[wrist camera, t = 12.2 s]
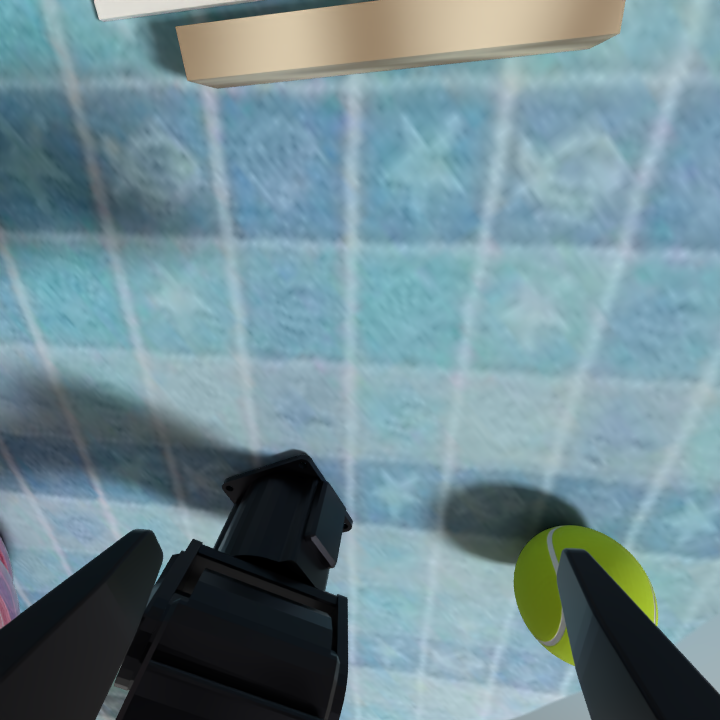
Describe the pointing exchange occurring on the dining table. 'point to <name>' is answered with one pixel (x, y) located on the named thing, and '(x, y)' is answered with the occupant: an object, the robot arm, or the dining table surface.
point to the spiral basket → (7, 589)
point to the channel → (388, 37)
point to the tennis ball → (541, 589)
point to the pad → (153, 7)
